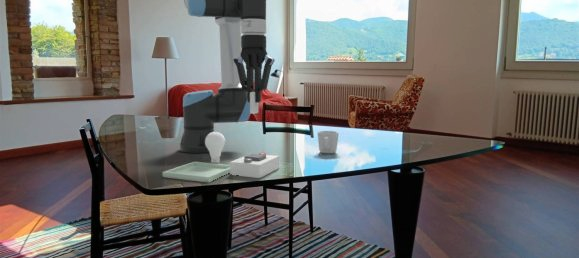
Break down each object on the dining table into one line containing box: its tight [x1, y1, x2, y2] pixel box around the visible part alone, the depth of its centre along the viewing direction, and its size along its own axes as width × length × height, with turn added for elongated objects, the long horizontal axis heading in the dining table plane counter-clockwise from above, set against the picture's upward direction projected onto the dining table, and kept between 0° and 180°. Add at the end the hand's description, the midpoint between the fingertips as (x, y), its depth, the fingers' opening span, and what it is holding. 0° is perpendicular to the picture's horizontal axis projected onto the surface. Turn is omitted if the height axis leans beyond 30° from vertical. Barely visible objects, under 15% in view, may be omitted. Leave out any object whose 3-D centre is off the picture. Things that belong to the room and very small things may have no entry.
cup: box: [317, 130, 339, 155], centre depth 160 cm, size 11×8×8 cm
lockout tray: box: [162, 161, 230, 183], centre depth 128 cm, size 16×16×2 cm
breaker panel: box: [229, 152, 280, 179], centre depth 131 cm, size 10×14×5 cm
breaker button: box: [243, 153, 267, 161], centre depth 131 cm, size 5×5×4 cm
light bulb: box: [205, 131, 226, 164], centre depth 141 cm, size 7×7×11 cm
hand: (254, 113), depth 129 cm, fingers closed
